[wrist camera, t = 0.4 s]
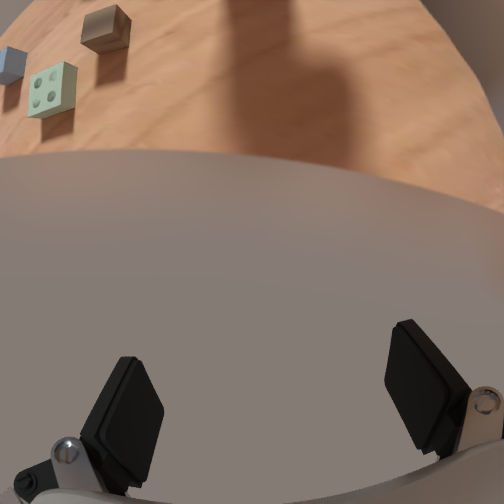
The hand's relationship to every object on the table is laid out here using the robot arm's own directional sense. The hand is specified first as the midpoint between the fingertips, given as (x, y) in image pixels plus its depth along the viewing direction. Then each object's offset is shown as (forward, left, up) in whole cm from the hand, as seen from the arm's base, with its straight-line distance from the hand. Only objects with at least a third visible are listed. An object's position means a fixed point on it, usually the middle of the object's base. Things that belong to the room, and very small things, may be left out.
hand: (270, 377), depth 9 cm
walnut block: (-29, -20, -30) cm, 46 cm away
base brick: (-22, -30, -30) cm, 47 cm away
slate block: (-31, -42, -30) cm, 60 cm away
